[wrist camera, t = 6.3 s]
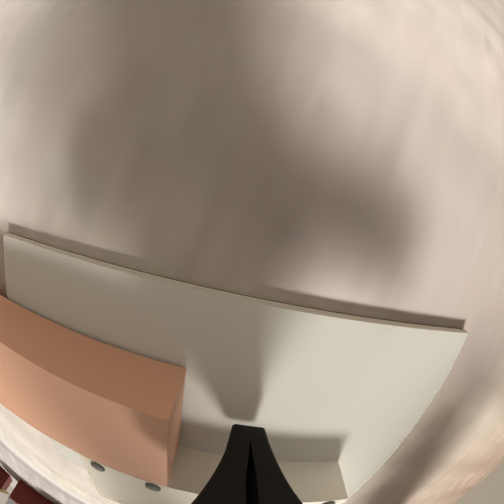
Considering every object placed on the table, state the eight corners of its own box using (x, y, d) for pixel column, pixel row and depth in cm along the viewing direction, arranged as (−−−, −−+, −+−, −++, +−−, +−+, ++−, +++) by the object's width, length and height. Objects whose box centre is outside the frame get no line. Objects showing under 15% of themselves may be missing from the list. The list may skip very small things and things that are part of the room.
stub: (179, 443, 11) (167, 486, 8) (-6, 356, 11) (-30, 376, 8) (186, 368, 10) (168, 420, 7) (-22, 281, 10) (-55, 296, 7)
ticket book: (304, 499, 13) (308, 531, 10) (113, 465, 13) (99, 495, 10) (338, 461, 12) (348, 500, 9) (99, 419, 11) (78, 455, 8)
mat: (332, 507, 15) (333, 511, 14) (60, 451, 14) (58, 455, 13) (463, 329, 10) (468, 333, 10) (9, 232, 10) (3, 234, 9)
